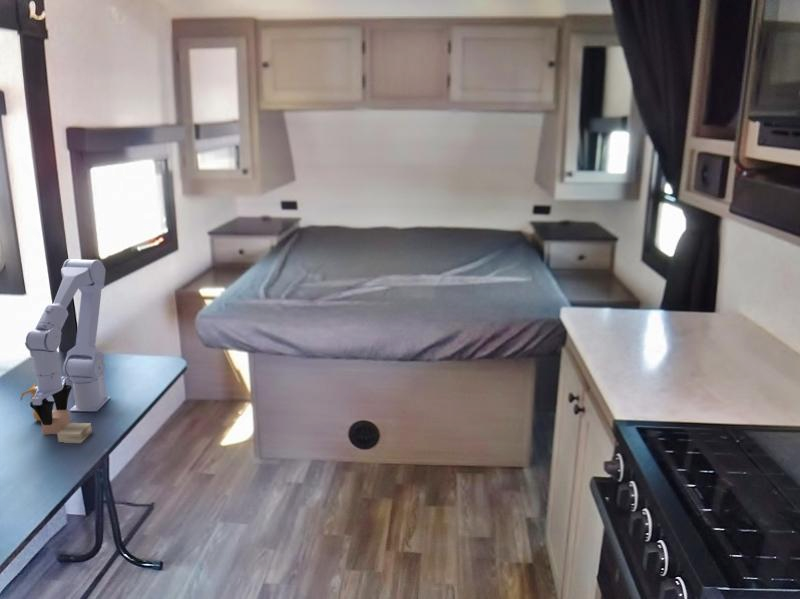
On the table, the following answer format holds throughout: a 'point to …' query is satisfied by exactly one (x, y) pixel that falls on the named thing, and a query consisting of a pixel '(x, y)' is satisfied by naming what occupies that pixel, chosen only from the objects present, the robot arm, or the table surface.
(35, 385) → the figurine
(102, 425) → the table surface
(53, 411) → the terracotta cube
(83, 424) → the birch base block
